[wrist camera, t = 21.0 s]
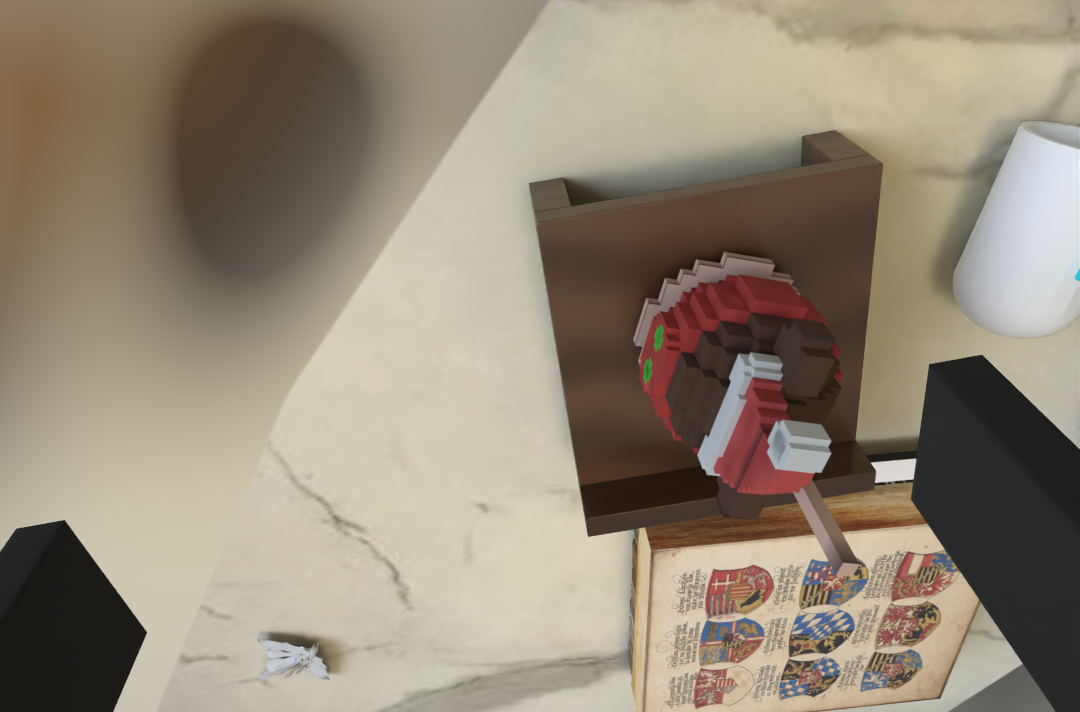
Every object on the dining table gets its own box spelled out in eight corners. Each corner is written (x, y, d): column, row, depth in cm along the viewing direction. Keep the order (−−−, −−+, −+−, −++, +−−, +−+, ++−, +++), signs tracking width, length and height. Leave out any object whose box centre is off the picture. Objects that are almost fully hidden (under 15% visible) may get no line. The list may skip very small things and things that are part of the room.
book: (1000, 425, 57) (634, 457, 56) (1055, 482, 52) (652, 519, 50) (923, 633, 70) (626, 663, 69) (961, 696, 65) (640, 730, 64)
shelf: (528, 183, 44) (540, 247, 36) (836, 129, 44) (912, 183, 36) (572, 445, 55) (588, 537, 47) (818, 404, 54) (874, 490, 47)
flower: (298, 683, 69) (288, 713, 66) (227, 643, 65) (214, 673, 63) (355, 659, 65) (346, 690, 63) (283, 615, 62) (272, 646, 60)
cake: (758, 409, 46) (896, 667, 31) (613, 390, 45) (684, 652, 30) (828, 252, 41) (1035, 474, 26) (665, 225, 39) (784, 443, 24)
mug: (1047, 386, 42) (1165, 178, 36) (912, 309, 49) (992, 122, 42) (1155, 352, 47) (1275, 166, 41) (1020, 287, 54) (1106, 117, 48)
